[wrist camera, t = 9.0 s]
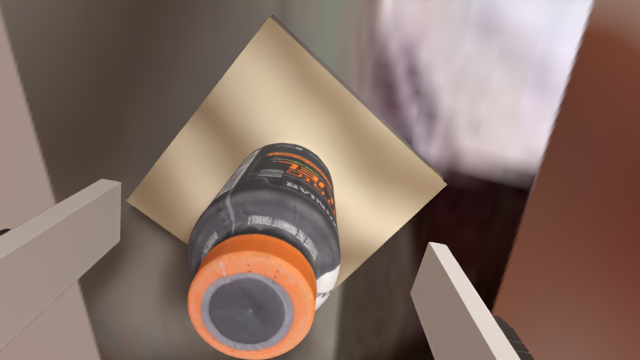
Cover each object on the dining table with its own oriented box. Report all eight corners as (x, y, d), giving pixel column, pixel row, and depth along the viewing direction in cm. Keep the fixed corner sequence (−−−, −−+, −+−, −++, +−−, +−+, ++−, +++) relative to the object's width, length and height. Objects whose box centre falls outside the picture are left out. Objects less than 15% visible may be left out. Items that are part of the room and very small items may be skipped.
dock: (275, 17, 21) (268, 10, 18) (436, 169, 24) (451, 184, 21) (144, 184, 24) (121, 200, 22) (299, 299, 28) (297, 326, 25)
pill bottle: (353, 183, 21) (389, 306, 10) (291, 248, 23) (267, 416, 12) (276, 119, 20) (228, 184, 9) (216, 192, 21) (113, 323, 11)
